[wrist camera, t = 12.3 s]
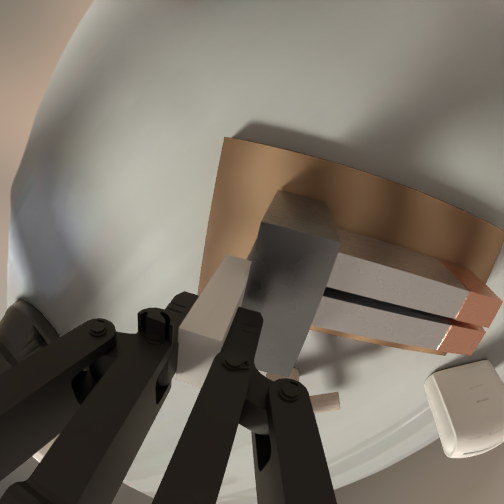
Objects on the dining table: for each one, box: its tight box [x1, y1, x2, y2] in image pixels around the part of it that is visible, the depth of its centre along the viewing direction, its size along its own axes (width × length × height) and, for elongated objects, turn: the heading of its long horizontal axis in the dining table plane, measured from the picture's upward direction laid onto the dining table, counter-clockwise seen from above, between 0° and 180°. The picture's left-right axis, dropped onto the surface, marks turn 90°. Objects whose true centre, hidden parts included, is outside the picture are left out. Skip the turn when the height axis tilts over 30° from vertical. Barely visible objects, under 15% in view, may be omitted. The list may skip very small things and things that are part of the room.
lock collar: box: [241, 189, 341, 377], centre depth 17 cm, size 4×8×9 cm, turn 168°
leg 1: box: [326, 227, 502, 328], centre depth 18 cm, size 16×2×6 cm, turn 78°
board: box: [198, 137, 504, 356], centre depth 20 cm, size 26×14×8 cm, turn 78°
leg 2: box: [311, 287, 486, 355], centre depth 19 cm, size 16×2×6 cm, turn 78°
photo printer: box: [424, 360, 504, 458], centre depth 20 cm, size 10×4×12 cm, turn 97°
